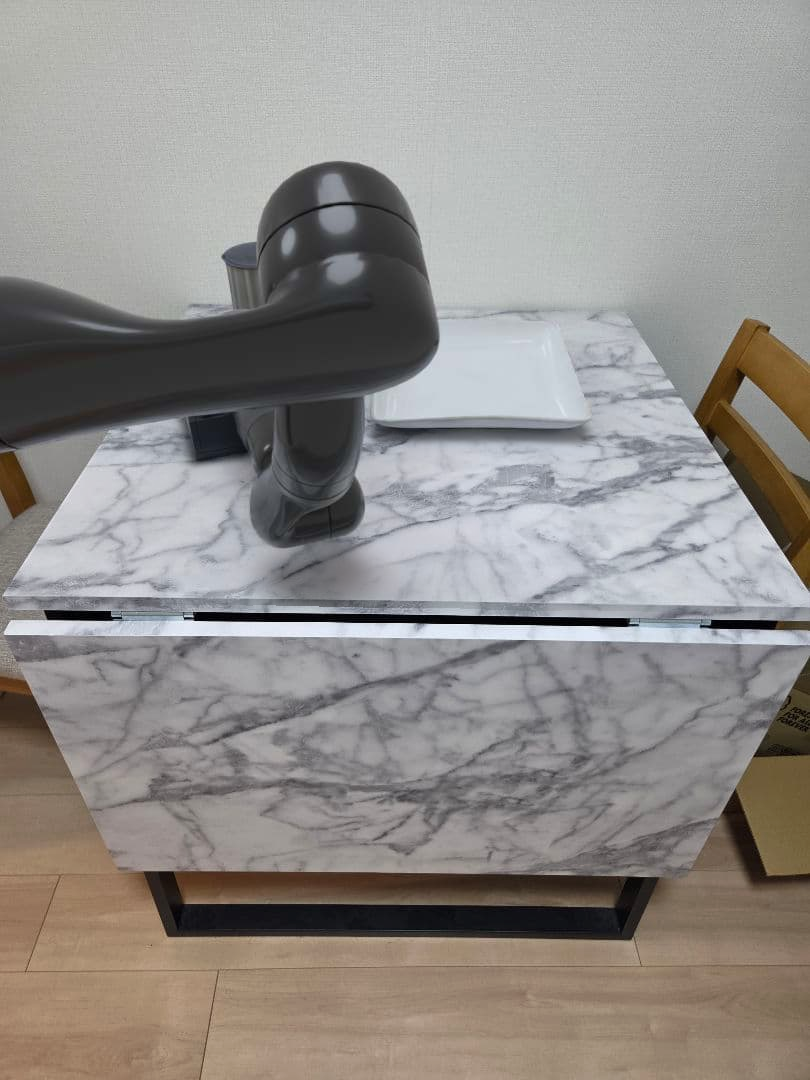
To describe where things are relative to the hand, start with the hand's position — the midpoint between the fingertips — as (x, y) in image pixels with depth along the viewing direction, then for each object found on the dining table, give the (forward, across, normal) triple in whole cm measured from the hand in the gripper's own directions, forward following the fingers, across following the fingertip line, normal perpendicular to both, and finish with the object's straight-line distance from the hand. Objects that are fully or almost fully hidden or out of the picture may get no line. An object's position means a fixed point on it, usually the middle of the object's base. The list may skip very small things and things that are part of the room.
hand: (241, 350), depth 93 cm
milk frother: (+17, -8, +8) cm, 20 cm away
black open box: (-2, 0, +8) cm, 8 cm away
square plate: (-5, -30, +8) cm, 31 cm away
